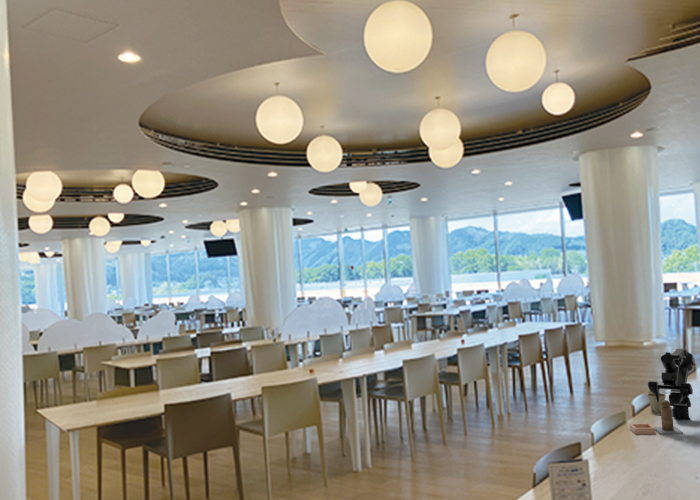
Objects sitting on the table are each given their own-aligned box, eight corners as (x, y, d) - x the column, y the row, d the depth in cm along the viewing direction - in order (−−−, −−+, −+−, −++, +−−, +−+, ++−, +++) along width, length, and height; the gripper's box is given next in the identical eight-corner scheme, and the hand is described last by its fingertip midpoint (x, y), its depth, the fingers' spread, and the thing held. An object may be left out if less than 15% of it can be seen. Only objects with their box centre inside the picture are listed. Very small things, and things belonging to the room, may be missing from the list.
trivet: (675, 428, 285) (675, 426, 285) (683, 434, 275) (683, 432, 275) (653, 428, 287) (653, 427, 287) (660, 434, 277) (659, 432, 277)
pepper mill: (669, 428, 283) (666, 398, 284) (676, 430, 279) (673, 400, 279) (660, 428, 283) (657, 399, 284) (666, 431, 278) (663, 401, 279)
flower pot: (663, 408, 326) (661, 392, 326) (670, 412, 316) (669, 395, 317) (645, 409, 326) (643, 393, 327) (652, 413, 317) (650, 396, 318)
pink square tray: (649, 428, 287) (649, 423, 287) (655, 433, 279) (655, 428, 279) (629, 429, 289) (629, 423, 289) (635, 433, 280) (634, 428, 280)
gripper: (646, 364, 296) (643, 391, 288) (689, 366, 285) (686, 394, 276) (652, 378, 302) (648, 404, 293) (693, 380, 290) (691, 407, 281)
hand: (668, 402), depth 286 cm, fingers open, 9 cm apart
